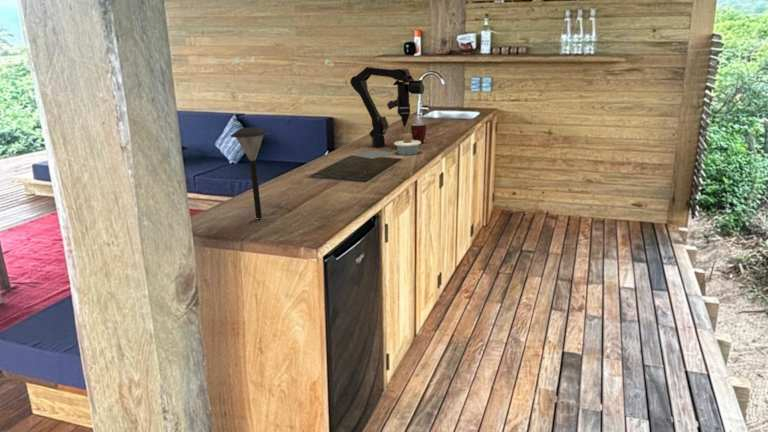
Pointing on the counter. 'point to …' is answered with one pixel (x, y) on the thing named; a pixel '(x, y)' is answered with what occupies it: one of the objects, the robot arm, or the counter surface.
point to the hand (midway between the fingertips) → (404, 125)
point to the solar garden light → (252, 157)
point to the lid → (407, 141)
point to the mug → (418, 132)
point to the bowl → (407, 150)
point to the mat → (373, 154)
